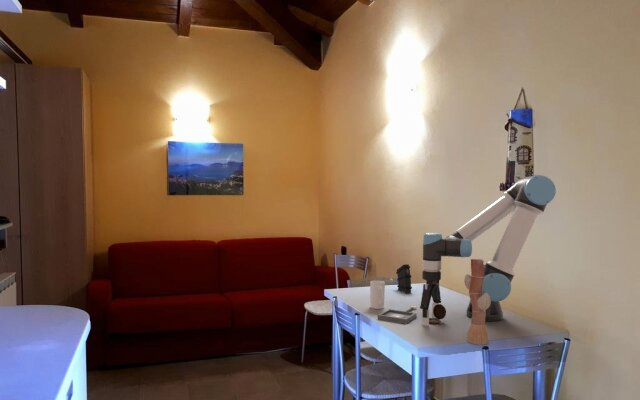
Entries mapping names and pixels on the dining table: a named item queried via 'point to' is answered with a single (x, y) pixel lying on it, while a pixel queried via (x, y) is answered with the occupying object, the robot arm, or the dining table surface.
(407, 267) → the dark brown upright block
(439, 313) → the compass
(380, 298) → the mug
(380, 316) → the grey square tray
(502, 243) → the robot arm
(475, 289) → the brown tall piece
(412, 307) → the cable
